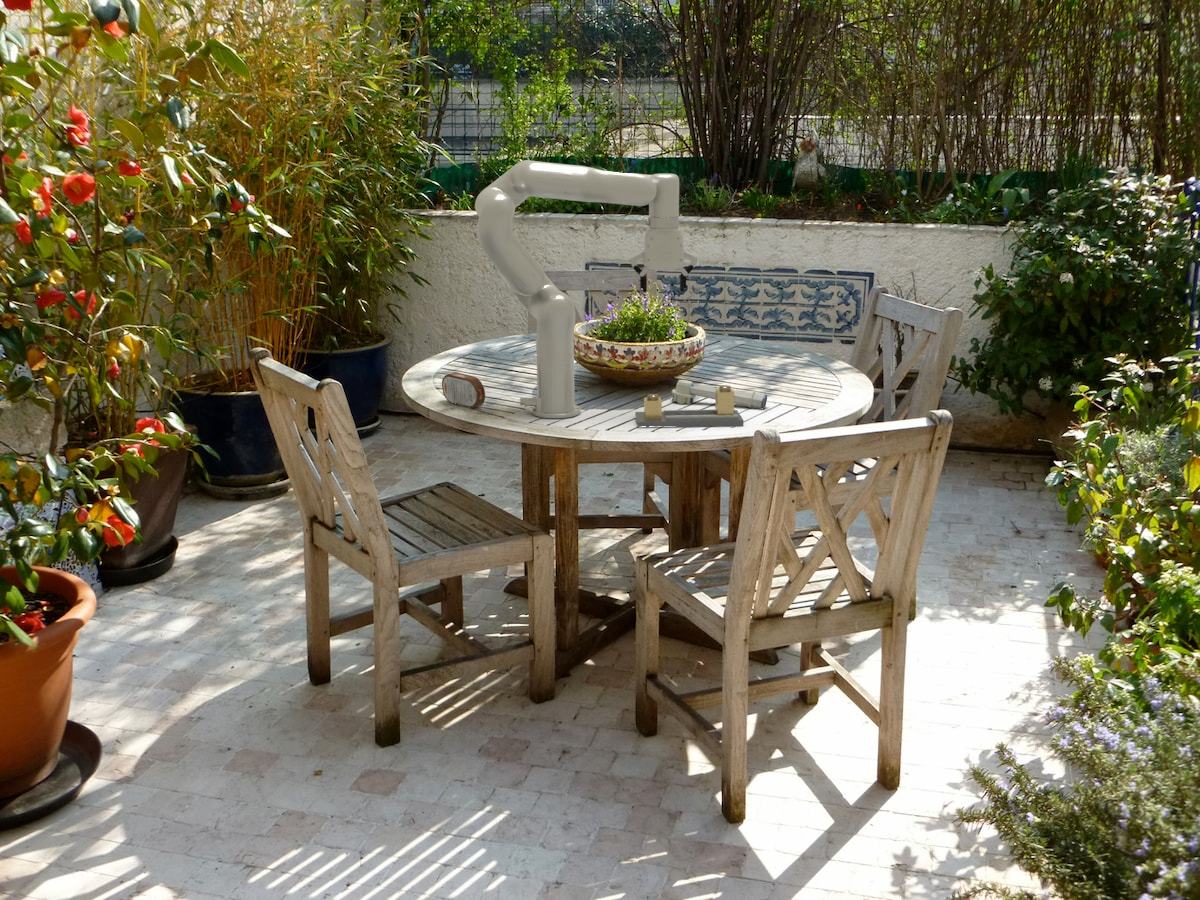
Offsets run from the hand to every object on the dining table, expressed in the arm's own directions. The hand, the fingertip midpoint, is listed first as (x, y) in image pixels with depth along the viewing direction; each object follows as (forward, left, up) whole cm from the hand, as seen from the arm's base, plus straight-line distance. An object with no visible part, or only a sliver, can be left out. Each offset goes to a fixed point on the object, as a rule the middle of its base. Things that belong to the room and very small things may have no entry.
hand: (663, 291), depth 303 cm
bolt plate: (+5, -17, -30) cm, 35 cm away
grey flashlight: (+15, 0, -31) cm, 34 cm away
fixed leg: (-4, -17, -29) cm, 34 cm away
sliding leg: (+14, -17, -28) cm, 36 cm away
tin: (-52, +4, -31) cm, 61 cm away
